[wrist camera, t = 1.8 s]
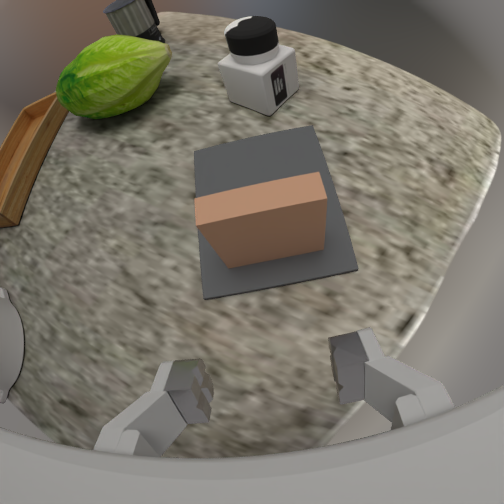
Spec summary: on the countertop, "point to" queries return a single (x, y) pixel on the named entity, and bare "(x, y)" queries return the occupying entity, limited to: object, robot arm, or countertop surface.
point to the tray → (26, 154)
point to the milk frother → (134, 19)
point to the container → (258, 65)
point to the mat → (259, 171)
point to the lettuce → (112, 76)
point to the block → (265, 220)
